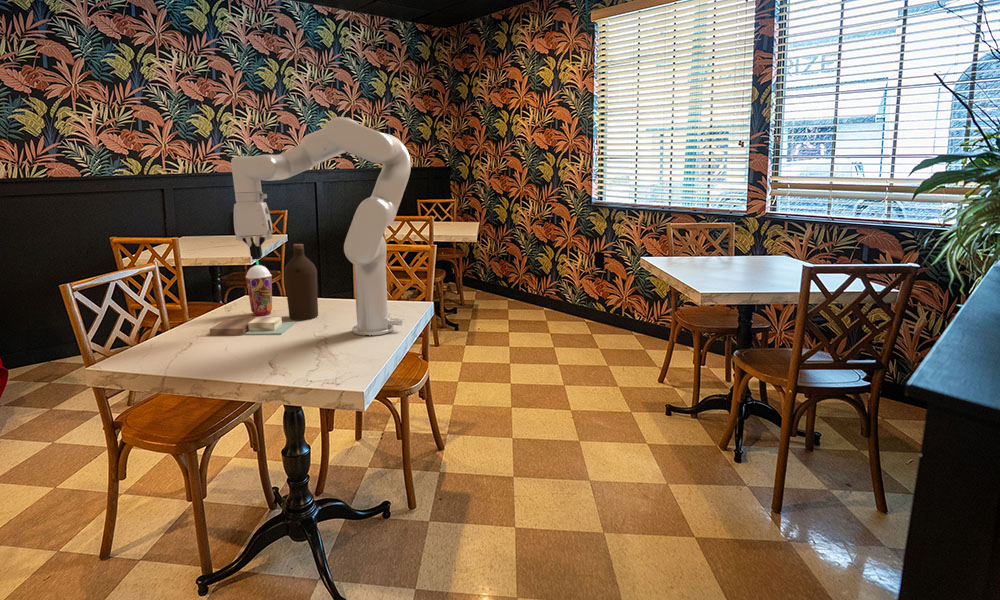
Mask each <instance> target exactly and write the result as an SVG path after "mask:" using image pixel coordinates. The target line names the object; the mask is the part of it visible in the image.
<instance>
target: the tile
mask: <svg viewBox="0 0 1000 600" xmlns="http://www.w3.org/2000/svg"><path fill="white" fill-rule="evenodd" d="M282 319H283V318H282V316H269V317H268V316H264V317H263V316H257V317H256V318H255V319H253V320H252V321H250V322H249V323H248V327H249V331H261V330H276V329H277V328H278V327H280V326H281V325H282V322H283V321H282Z"/></svg>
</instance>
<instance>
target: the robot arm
mask: <svg viewBox="0 0 1000 600" xmlns="http://www.w3.org/2000/svg"><path fill="white" fill-rule="evenodd" d="M344 153H349V154H351V155H353V156H356V157H359V158H361V159H363V160H366V161H368V162H372V163H374V164H381V167H382V168H381V171H380V173H379V175H378V176H377V179H376V182H375V186H374V188H373V190H372V193H371V196H370V197H367V198H365V199H364V200H362V201H361V202H360V204H359V205H358V207H357V208H356V211H355V213H354V215H353V218H352V221H351V223H350V226H349V229H348V231H347V234H346V237H345V239H344V243H343V253H344V255H345V257H346V259H347V260H348V261H349V262H350V263H351V264H354V268H353V269H354V270H353V271H354V272H353V273H354V276H353V277H354V293H355V309H356V325H354V326H353V327H352V329H351V330H352V333H353V334H354V335H358V336H365V335H369V337H370V336H371V335H372V336H380V335H382V336H383V335H386V334H388V333H391V332H393V331H394V328H395V327H394V326H403V319H401V318H398V317H397V318H393V317H391V314H390V313H389V312H388V311H389V310H388V309H389V308H388V290H387V289H388V287H387V252H388V251H387V248H388V247H387V242H386V239H385V237H384V233H385V231H386V229H387V228H388V227H389V226H391V225H392V223H394V221H395V220H396V216H397V213H398V210H399V207H400V205H401V202H402V199H403V196H404V192H405V191H406V187H407V185H408V182H409V178H410V175H411V169H412V163H411V162H412V161H411V156H410V153H409V151H408V149H407V147H406V146H405V144H404V143H403V142H402V141H401V140H400V139H398V138H397V137H396V136H394V135H392V134H389V133H384V132H381V131H378V130H376V129H373V128H370V127H367V126H365V125H363V124H359V123H358V122H357V121H355V120H353V119H351V118H349V117H345V116H336V117H333V118H332V119H330V120H329V121H328V122H327V123H326V125H325V127H323V128H320V129H318V130H315V131H313V132H311V133H309V134H306V135H305V136H304V137H303V138H302V141H301V143H299V144H298V145H297V146H295V147H293V148H291V149H289V150H287V151H283V152H281V153H279V154H259V155H255V156H253V155H252V156H250V155H247V156H246V155H243V156H242V155H241V156H234V157H232V158H231V161H230V163H231V164H230V165H231V170H232V171H231V173H232V181H233V188H234V196H235V197H234V198H235V202H236V203H234V204H233V228H234V234H235V240H237V241H239V242H243V243H244V244H246V246H247V247H249V255H250V257H251V260H253V261H254V260H255V261H256V259H258V260H260V259H262V256H263V249H262V246H263V243H265V241H267V240H270V239H273V234H272V233H273V225H272V224H273V223H272V218H271V215H270V214H271V213H270V210H269V207H268V205H267V202H266V201H265V199H267V198H268V195H267V193H264V192H263V190H262V182H261V181H267V182H269V181H283V180H286V179H290V178H291V177H293V176H296V175H298V174H301V173H303V172H305V171H307V170H310V169H311V168H313V167H316V166H318V165H319V164H321V163H323V162H325V161H328V160H330V159H332V158H334V157H336V156H339V155H342V154H344ZM264 201H265V202H264ZM254 237H255V240H254Z"/></svg>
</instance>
